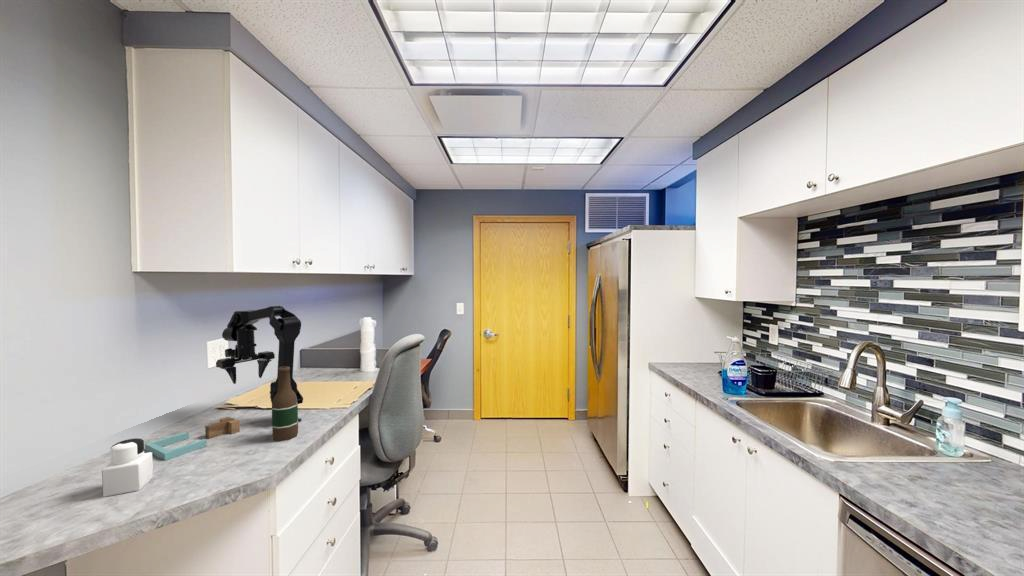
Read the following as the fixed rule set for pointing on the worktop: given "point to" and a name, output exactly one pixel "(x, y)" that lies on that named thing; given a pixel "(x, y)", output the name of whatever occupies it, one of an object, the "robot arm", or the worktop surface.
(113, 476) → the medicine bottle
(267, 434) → the worktop surface
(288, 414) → the beer bottle
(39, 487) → the worktop surface
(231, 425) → the t block
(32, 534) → the worktop surface
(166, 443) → the jig
